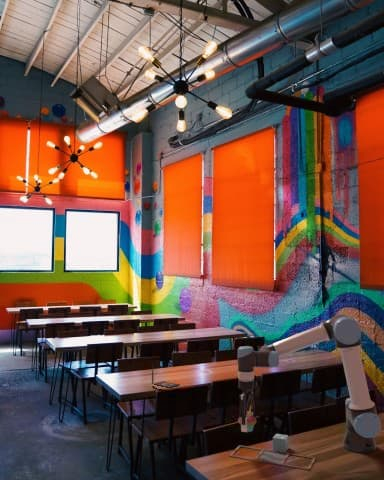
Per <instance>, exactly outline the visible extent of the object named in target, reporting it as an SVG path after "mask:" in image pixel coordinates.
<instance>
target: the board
mask: <svg viewBox="0 0 384 480" xmlns="http://www.w3.org/2000/svg"><path fill="white" fill-rule="evenodd" d="M240 448H243V449H245V448H246V449H252V450H257V451H260V452H259V453H258V454H257V456H255V458H251V457H245V456H238V455H235V453H237V451H238V450H240ZM289 456H293V457H300V458H305V459H311V462H309V465H308V467H303V466H297V465H291V464H286V461H287V459H288V458H289ZM228 457H231V458H236V459H242V460H248V461H254V462H260V463H265V464H269V465H275V466H282V467H285V468H286V467H287V468H293V469H299V470H305V471H311V469H312V467H313V465H314V464H315V461H316V460H317V457H314V456H308V455H301V454H295V453H289V452H280V451H274V450H273V449H272V450H271V449H266V448H265V449H264V448H259V447H253V446H247V445H242V444H241V445H238V446H237V447H236V448H235V449H234V450H233V451H232V452H231V453H230V454H229V456H228Z"/></svg>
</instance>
